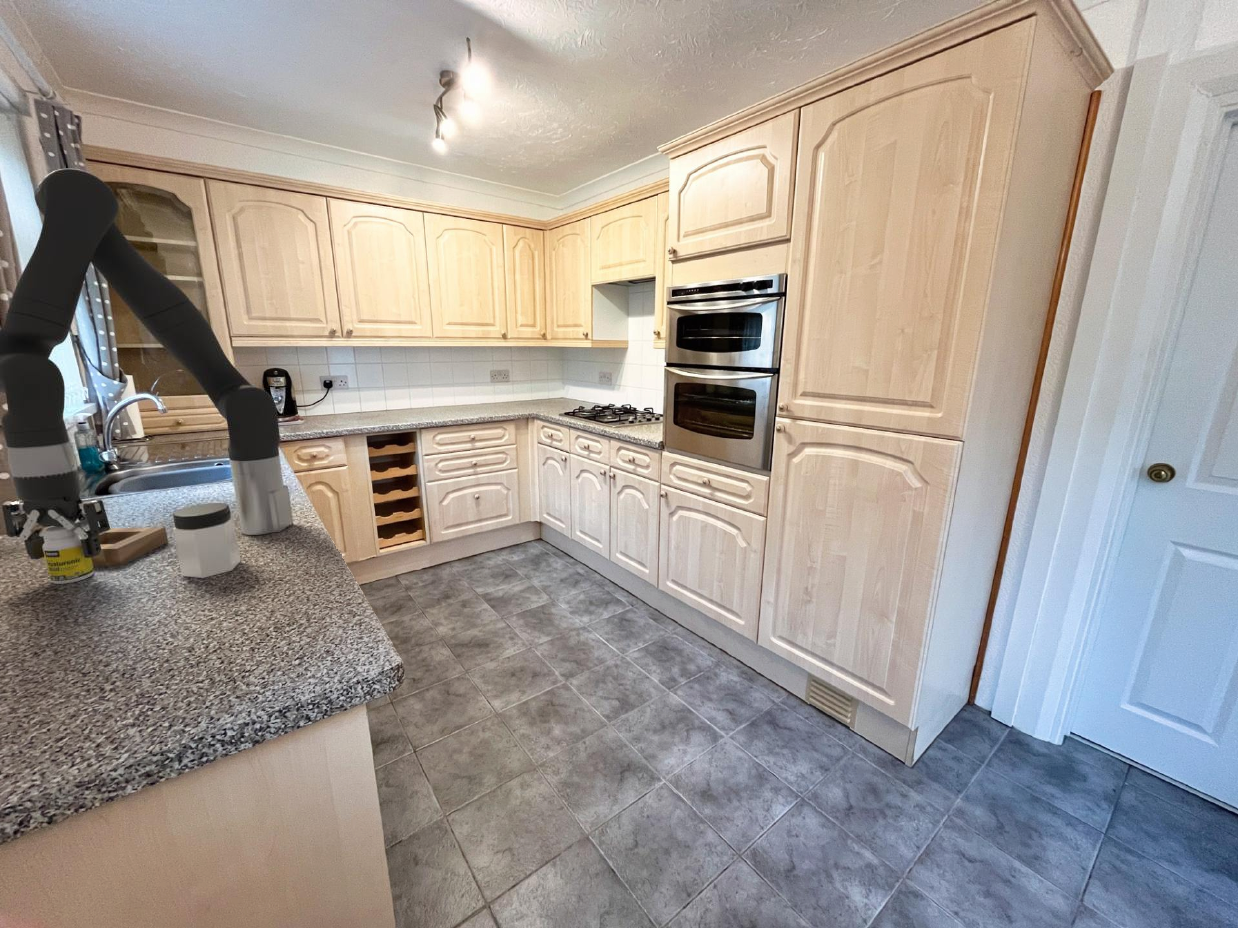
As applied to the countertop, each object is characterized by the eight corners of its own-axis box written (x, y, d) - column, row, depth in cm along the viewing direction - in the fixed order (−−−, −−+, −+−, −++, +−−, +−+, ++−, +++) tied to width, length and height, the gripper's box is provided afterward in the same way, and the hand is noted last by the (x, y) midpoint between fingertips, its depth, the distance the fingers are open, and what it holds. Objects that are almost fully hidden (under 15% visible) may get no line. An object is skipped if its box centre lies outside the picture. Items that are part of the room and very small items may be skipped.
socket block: (168, 541, 107) (165, 526, 107) (121, 565, 96) (117, 548, 95) (106, 543, 106) (102, 528, 105) (51, 567, 94) (46, 550, 94)
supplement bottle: (44, 587, 87) (30, 534, 85) (60, 574, 92) (47, 524, 89) (87, 581, 89) (74, 530, 87) (100, 569, 94) (88, 520, 92)
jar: (229, 575, 92) (218, 514, 90) (175, 581, 90) (162, 519, 87) (246, 556, 101) (236, 500, 98) (196, 562, 98) (185, 504, 95)
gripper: (109, 464, 90) (127, 548, 94) (21, 465, 89) (42, 550, 92) (70, 474, 83) (91, 564, 87) (-27, 475, 81) (-2, 567, 85)
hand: (66, 557), depth 89 cm, fingers open, 8 cm apart
